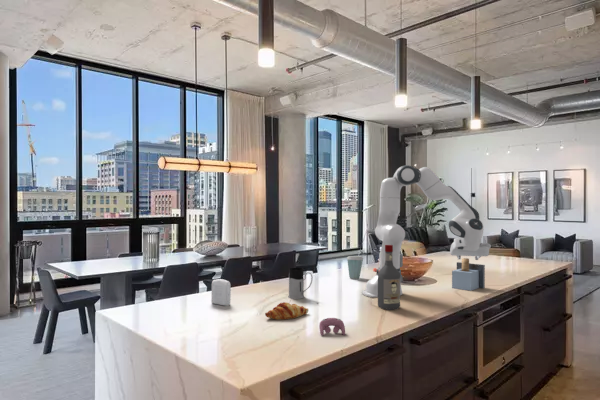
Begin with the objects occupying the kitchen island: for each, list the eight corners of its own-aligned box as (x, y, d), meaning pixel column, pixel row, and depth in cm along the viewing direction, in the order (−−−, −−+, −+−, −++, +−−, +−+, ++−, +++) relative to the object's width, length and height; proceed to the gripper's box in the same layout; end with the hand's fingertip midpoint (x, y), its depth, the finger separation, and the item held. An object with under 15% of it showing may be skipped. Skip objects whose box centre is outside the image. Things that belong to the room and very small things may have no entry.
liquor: (375, 306, 210) (375, 244, 210) (391, 304, 213) (391, 243, 213) (385, 310, 201) (385, 246, 201) (402, 308, 204) (402, 245, 204)
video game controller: (344, 336, 168) (343, 318, 171) (346, 334, 163) (344, 316, 167) (319, 337, 167) (318, 319, 170) (320, 335, 163) (319, 316, 166)
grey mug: (293, 294, 236) (293, 267, 236) (316, 297, 228) (316, 269, 228) (284, 297, 228) (284, 269, 228) (308, 300, 221) (308, 271, 221)
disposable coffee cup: (344, 277, 288) (344, 255, 288) (358, 276, 291) (358, 254, 291) (350, 280, 278) (350, 257, 278) (366, 279, 281) (365, 256, 281)
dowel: (464, 280, 248) (464, 259, 248) (460, 278, 252) (460, 258, 252) (470, 279, 249) (470, 259, 249) (466, 278, 253) (466, 258, 253)
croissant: (304, 320, 198) (301, 303, 202) (315, 314, 191) (311, 296, 194) (262, 325, 188) (259, 307, 191) (272, 319, 180) (268, 301, 183)
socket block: (470, 290, 242) (470, 272, 242) (452, 287, 250) (452, 270, 250) (478, 287, 250) (478, 270, 250) (460, 285, 258) (460, 268, 258)
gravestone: (231, 304, 213) (231, 279, 213) (226, 306, 209) (226, 280, 209) (215, 302, 218) (215, 277, 218) (210, 303, 214) (210, 279, 214)
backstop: (469, 294, 236) (469, 268, 236) (442, 290, 247) (442, 265, 247) (484, 288, 250) (484, 264, 250) (458, 285, 261) (458, 262, 261)
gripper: (490, 239, 234) (486, 254, 244) (451, 238, 238) (448, 253, 248) (492, 248, 230) (488, 263, 240) (452, 247, 234) (449, 262, 243)
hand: (467, 258), depth 244 cm, fingers open, 8 cm apart
